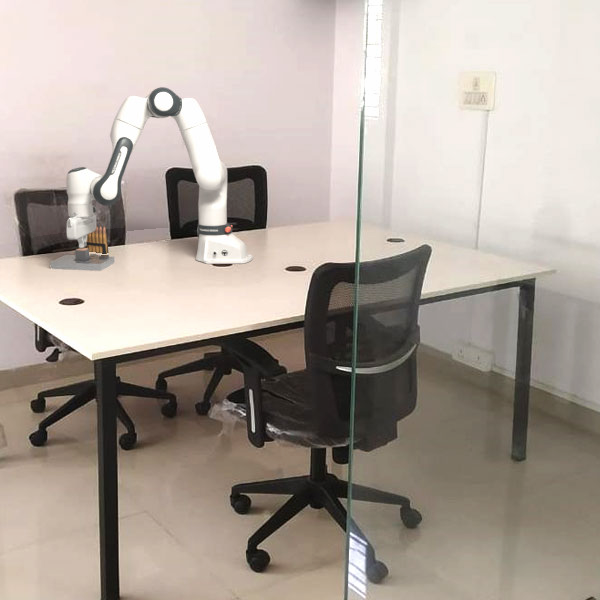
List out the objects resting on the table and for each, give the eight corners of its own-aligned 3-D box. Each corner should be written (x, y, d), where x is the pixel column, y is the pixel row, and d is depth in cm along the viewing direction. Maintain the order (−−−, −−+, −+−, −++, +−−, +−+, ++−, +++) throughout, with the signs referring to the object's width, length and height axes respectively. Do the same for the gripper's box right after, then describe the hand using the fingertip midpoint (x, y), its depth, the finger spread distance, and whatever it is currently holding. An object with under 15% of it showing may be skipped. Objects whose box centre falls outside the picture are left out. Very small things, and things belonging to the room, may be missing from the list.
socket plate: (114, 262, 353) (114, 254, 352) (100, 270, 339) (100, 261, 339) (66, 261, 356) (65, 252, 355) (50, 268, 343) (50, 260, 342)
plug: (89, 264, 349) (89, 248, 348) (85, 266, 345) (84, 249, 344) (80, 263, 350) (79, 247, 348) (75, 265, 346) (74, 249, 344)
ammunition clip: (84, 254, 369) (82, 225, 366) (87, 253, 371) (85, 224, 368) (106, 256, 365) (104, 226, 362) (108, 255, 367) (107, 226, 364)
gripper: (77, 215, 332) (79, 252, 335) (98, 207, 351) (100, 242, 355) (60, 215, 333) (63, 252, 336) (82, 206, 352) (85, 241, 356)
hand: (82, 247), depth 346 cm, fingers closed
